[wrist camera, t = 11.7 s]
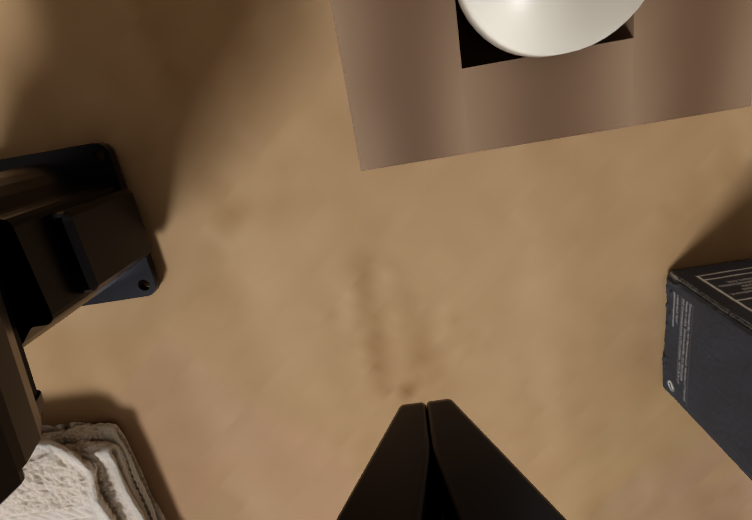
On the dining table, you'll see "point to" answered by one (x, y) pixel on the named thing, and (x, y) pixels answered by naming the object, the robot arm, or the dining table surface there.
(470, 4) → the knob
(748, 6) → the mount
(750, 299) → the small box
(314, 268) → the dining table surface
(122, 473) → the washcloth
